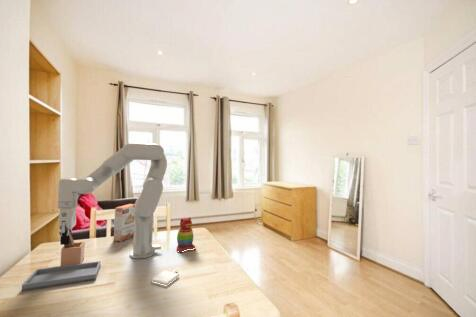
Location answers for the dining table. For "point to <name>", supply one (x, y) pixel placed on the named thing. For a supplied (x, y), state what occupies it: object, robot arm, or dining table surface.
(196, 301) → the dining table surface
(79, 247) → the square clay planter
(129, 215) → the cracker box
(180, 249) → the stacking bear
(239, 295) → the dining table surface
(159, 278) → the perfume bottle
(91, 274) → the grey tray
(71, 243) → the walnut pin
